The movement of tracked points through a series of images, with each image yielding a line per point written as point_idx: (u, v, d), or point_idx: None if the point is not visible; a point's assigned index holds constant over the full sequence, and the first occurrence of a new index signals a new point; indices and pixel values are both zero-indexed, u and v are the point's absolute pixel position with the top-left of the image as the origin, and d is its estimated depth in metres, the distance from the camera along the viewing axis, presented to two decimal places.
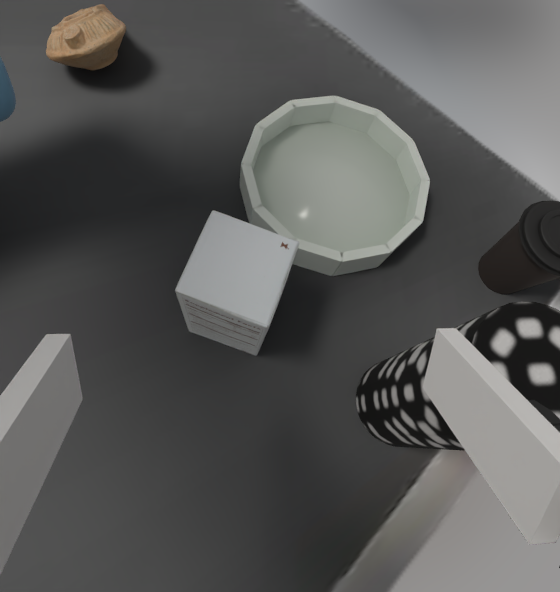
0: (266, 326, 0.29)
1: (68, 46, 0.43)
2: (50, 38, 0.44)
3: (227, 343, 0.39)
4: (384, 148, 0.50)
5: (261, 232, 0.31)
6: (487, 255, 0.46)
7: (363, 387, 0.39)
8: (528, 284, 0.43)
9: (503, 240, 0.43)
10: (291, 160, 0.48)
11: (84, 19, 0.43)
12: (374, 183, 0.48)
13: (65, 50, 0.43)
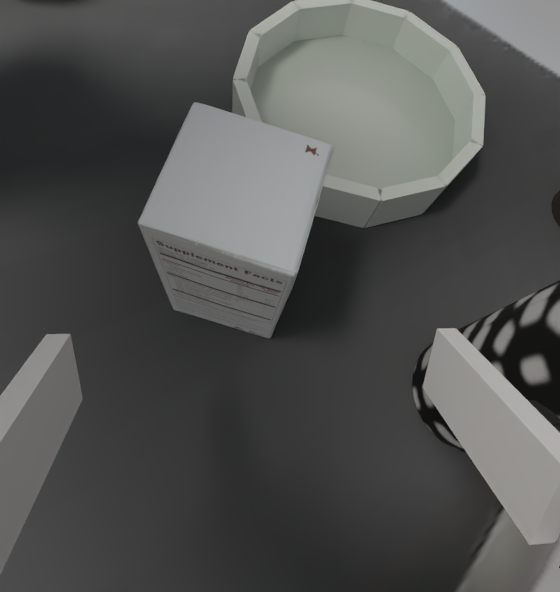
0: (293, 274, 0.18)
1: None
2: None
3: (228, 322, 0.28)
4: (416, 65, 0.38)
5: (273, 132, 0.20)
6: None
7: (425, 373, 0.28)
8: None
9: None
10: (298, 82, 0.36)
11: None
12: (407, 107, 0.37)
13: None
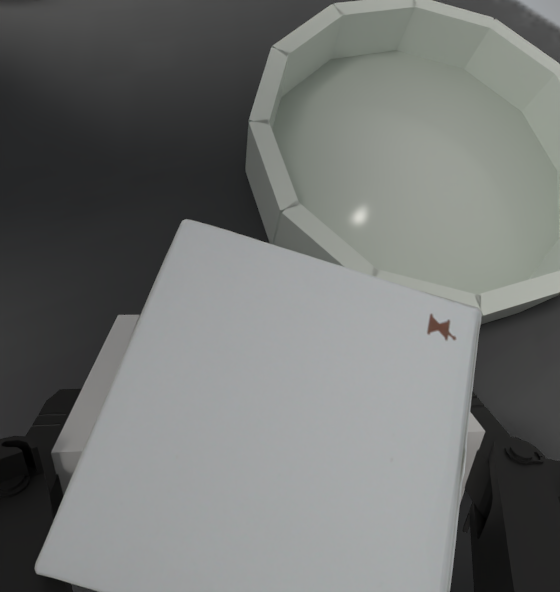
0: None
1: None
2: None
3: None
4: (499, 92, 0.28)
5: (356, 285, 0.09)
6: None
7: None
8: None
9: None
10: (338, 118, 0.26)
11: None
12: (491, 153, 0.26)
13: None
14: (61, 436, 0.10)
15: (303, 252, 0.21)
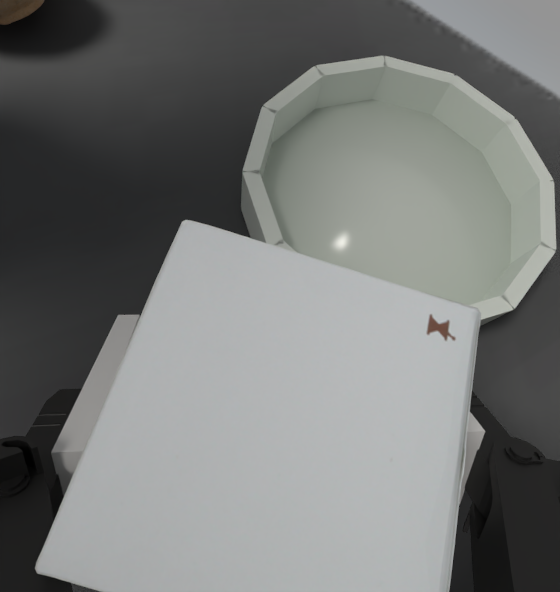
0: None
1: None
2: None
3: None
4: (462, 135, 0.32)
5: (356, 286, 0.09)
6: None
7: None
8: None
9: None
10: (321, 162, 0.30)
11: None
12: (453, 190, 0.30)
13: None
14: (61, 436, 0.10)
15: None
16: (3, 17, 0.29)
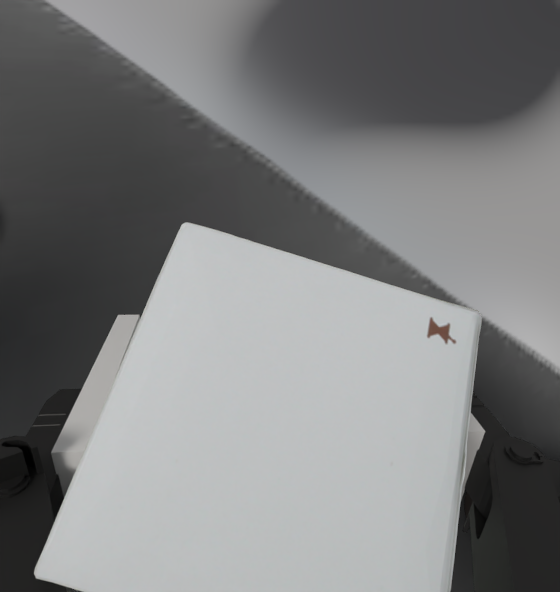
0: None
1: None
2: None
3: None
4: None
5: (356, 289, 0.09)
6: None
7: None
8: None
9: None
10: None
11: None
12: None
13: None
14: (61, 436, 0.10)
15: None
16: None
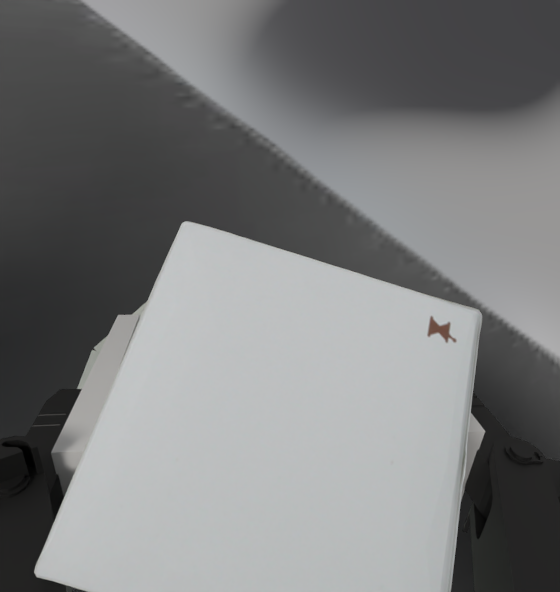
0: None
1: None
2: None
3: None
4: None
5: (356, 288, 0.09)
6: None
7: None
8: None
9: None
10: None
11: None
12: None
13: None
14: (61, 436, 0.10)
15: None
16: None
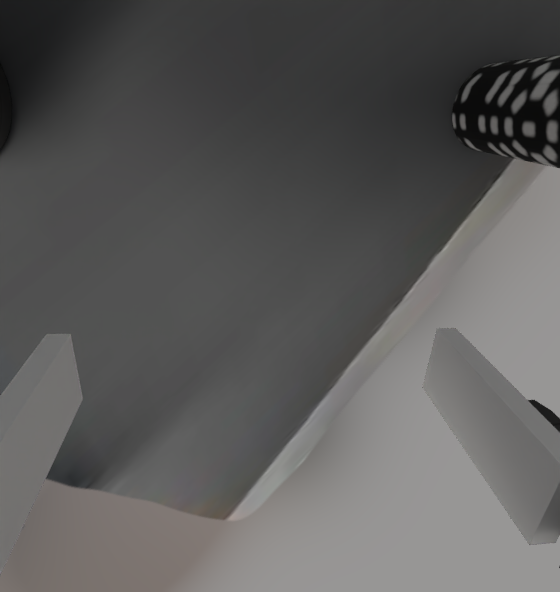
0: None
1: None
2: None
3: None
4: None
5: None
6: None
7: (463, 106, 0.41)
8: None
9: None
10: None
11: None
12: None
13: None
14: None
15: None
16: None
